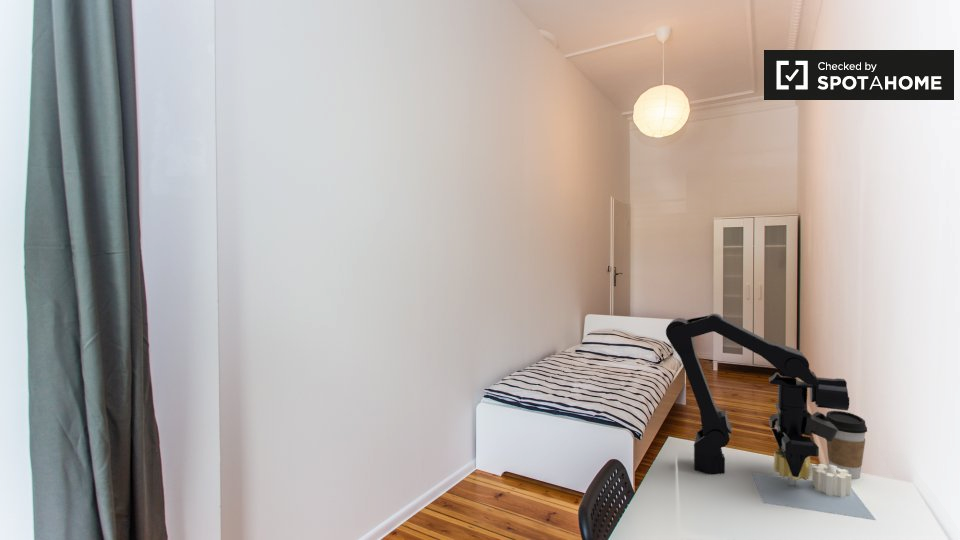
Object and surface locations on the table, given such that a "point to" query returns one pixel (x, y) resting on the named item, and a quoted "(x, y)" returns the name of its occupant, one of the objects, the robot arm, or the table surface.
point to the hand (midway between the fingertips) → (791, 469)
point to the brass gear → (784, 469)
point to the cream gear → (832, 481)
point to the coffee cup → (847, 442)
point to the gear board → (808, 496)
